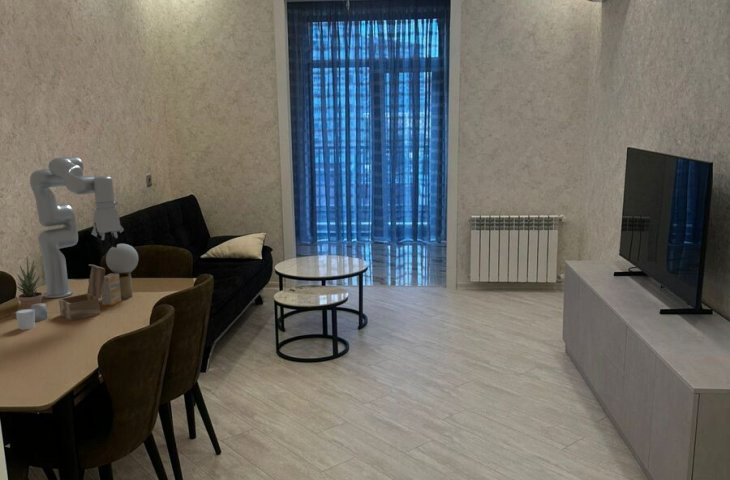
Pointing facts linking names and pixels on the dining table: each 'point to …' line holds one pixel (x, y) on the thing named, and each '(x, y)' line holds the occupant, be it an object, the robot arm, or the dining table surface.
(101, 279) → the lid
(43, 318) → the tape roll
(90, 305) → the box
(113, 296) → the supplement box
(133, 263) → the lamp
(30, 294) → the potted plant
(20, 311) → the white cylinder
